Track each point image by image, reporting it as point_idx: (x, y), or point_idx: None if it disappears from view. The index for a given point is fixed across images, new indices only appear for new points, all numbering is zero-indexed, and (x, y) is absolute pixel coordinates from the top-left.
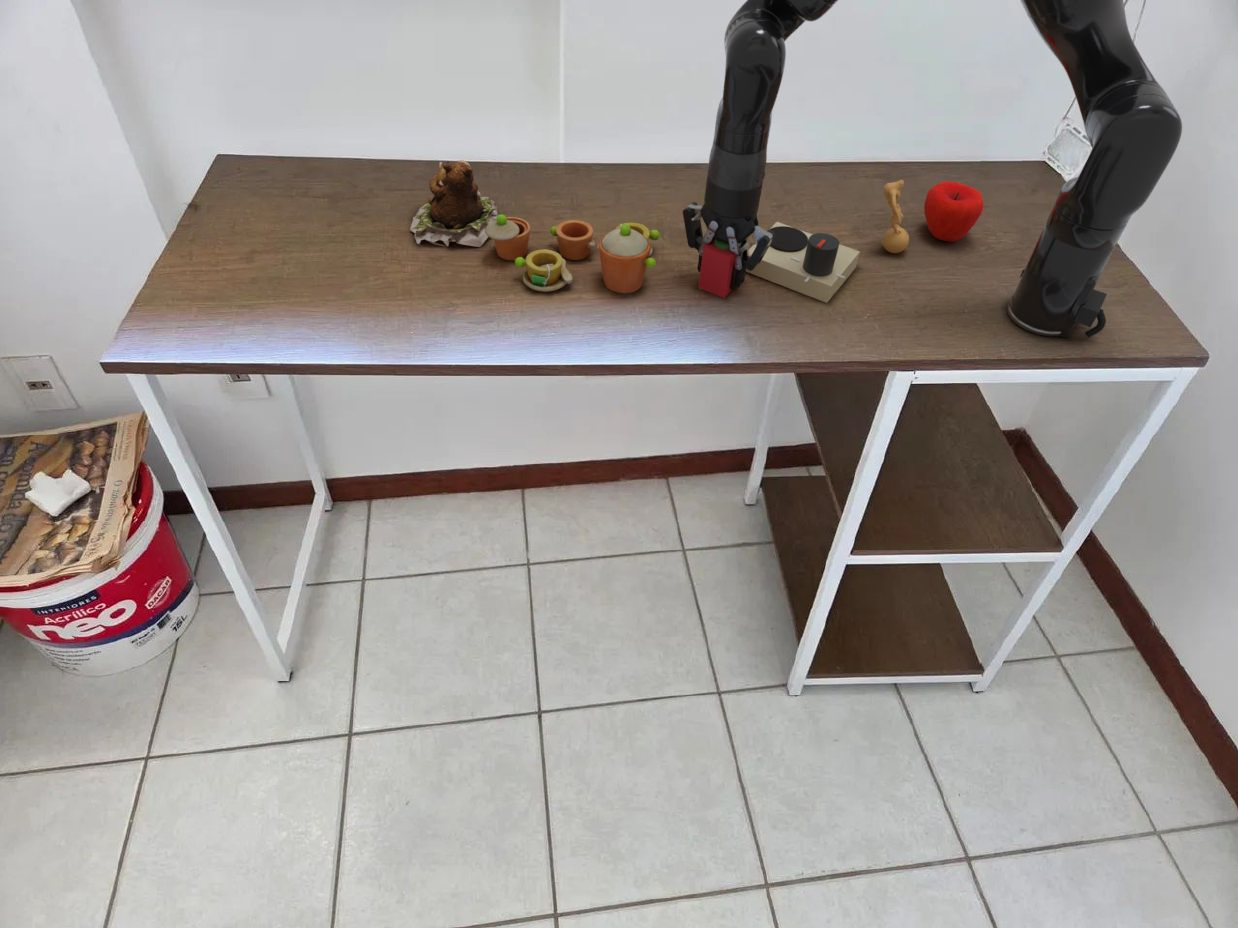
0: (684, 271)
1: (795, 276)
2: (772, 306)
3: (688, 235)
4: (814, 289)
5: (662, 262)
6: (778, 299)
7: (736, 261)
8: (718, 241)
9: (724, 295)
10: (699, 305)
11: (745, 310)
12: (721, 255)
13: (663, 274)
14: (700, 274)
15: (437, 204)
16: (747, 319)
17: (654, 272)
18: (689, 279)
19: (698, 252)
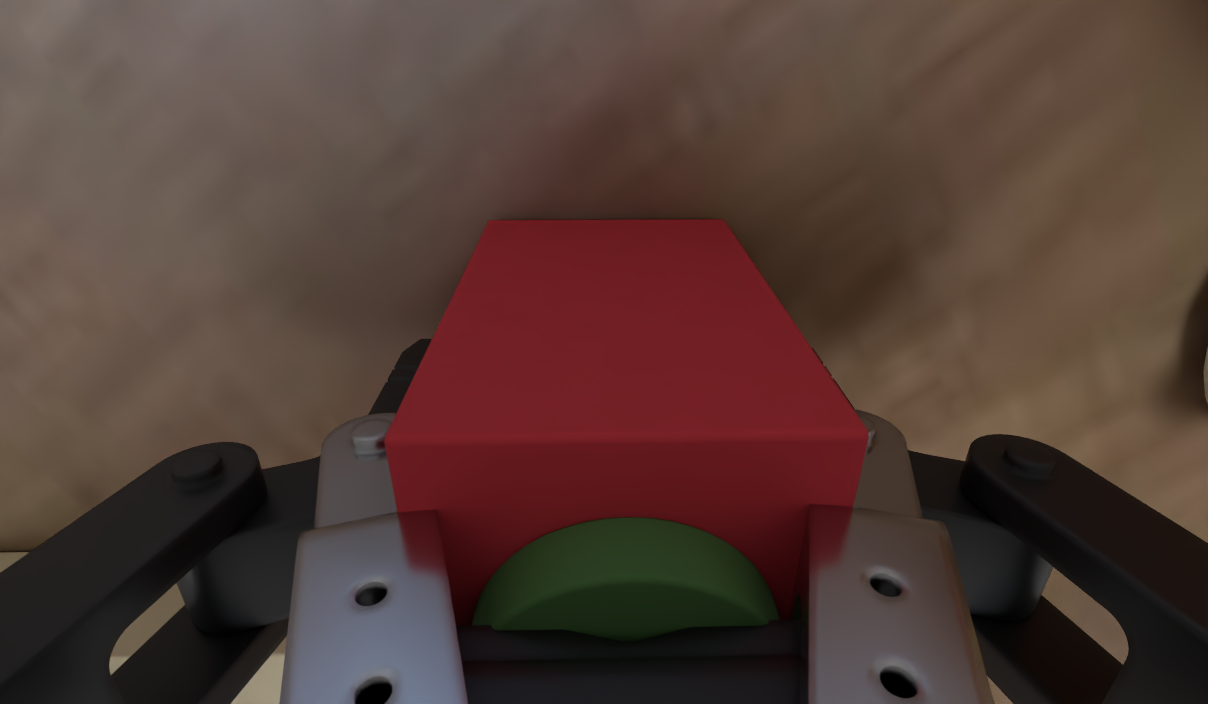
0: (896, 339)
1: (149, 632)
2: (170, 345)
3: (1164, 538)
4: None
5: (1081, 339)
6: (201, 430)
7: (387, 473)
8: (697, 617)
9: (485, 228)
10: (605, 3)
11: (272, 185)
12: (542, 422)
13: (1038, 216)
14: (747, 263)
15: None
16: (175, 82)
17: (1115, 197)
18: (827, 278)
19: (886, 424)
